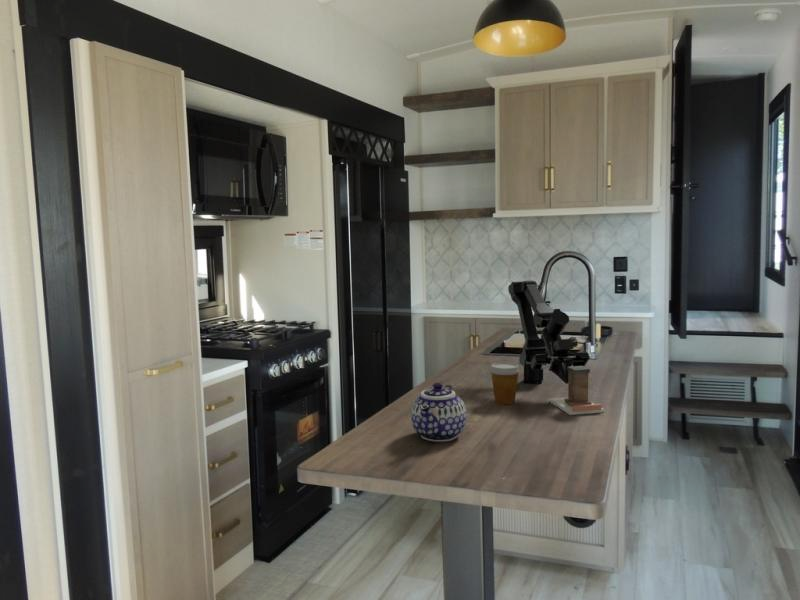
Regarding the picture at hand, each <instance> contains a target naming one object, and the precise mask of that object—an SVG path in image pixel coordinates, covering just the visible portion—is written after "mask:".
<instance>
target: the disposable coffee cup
mask: <svg viewBox="0 0 800 600" xmlns="http://www.w3.org/2000/svg"><path fill="white" fill-rule="evenodd" d="M489 371H490V374H491V379H492V387H493V388H492V390H493V395H494V403H496V404H498V405H504V404H507V405H513V404H515V401H516V395H517V387H518V380H519V373H520V371H521V369H520V366H519V364H517V363H513V362H496V363H493V364H491V367H490V368H489Z"/></svg>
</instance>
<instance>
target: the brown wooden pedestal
mask: <svg viewBox="0 0 800 600" xmlns="http://www.w3.org/2000/svg"><path fill="white" fill-rule="evenodd" d="M567 371H569V381H568V384H567V385H568V397H564V398H565V403H567V404H569V405H570V406H578V405H591V404H592V403H593V402H592V401H590V400H589V374H590V373H591V369H590V368H588V367H586V366H573V365H572V366H571V367H567Z"/></svg>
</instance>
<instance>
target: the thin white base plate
mask: <svg viewBox="0 0 800 600" xmlns="http://www.w3.org/2000/svg"><path fill="white" fill-rule="evenodd" d="M565 398H566V397H555V398H549V403H550V402H551V403H550V404H552V403H553V404H552V405H553V406H556V407H557V408H558V407H559V409H560V410H561V411H563V412H565V413H566V414H567V415H569V416H573V415H584V414H585V415H586V414H600V413H605V408H603V407H602V406H603V405H602V404H601V403H593V402H592V404H591V405H578V406H570V405H569V404H567V403H565Z"/></svg>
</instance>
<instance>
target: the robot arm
mask: <svg viewBox="0 0 800 600" xmlns="http://www.w3.org/2000/svg"><path fill="white" fill-rule="evenodd" d="M508 294H509V295H510V298H511V301H512V302H513V303H514V304H515V305H516V306H517V309H518V314H519V319H520V323H521V327H522V332H523V336H524V343H523V345H522V352H521V353H520V356H519V358H518V362H519V365H521V366H523V380H522V383H526V384H542V382H544V368H543V366H547V365H548V366H549V367H548V371H549V372H552V373H554V375H556V376H557V377H558V378H559V379H560V380H561V381H563V382H564V383H565V384H567V385H568V381H569V371H567V367H571V366H584V367H586V365H587V364H588V362H589V360H590V359H591V357H590V354H589V352H587V351H575V353H574V355H573V356H572V355H571V356H570V354H571V350H573V349H574V348H576V347H578V345H579V343H578V340H577V338H576V336H569V338H562V336H561V334H563V333H564V331H565V330H566V327H567V326H568V324H569V322H570V316H569V315H568V314H567V313H565V312H564V311H562V310H561V308H553V307H551V306H550V305H548V304H547V303H546V302H545V299H544V296H542V294H541V292H540V289H539V288H538V283H537V282H536V281H535V280H523V281H512V282H511V283H510V284H509V285H508ZM538 328H539V329H542V331H541V333H540V334H541V335H540V337H539V334H538V331H537V330H538ZM568 355H569V356H568Z"/></svg>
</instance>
